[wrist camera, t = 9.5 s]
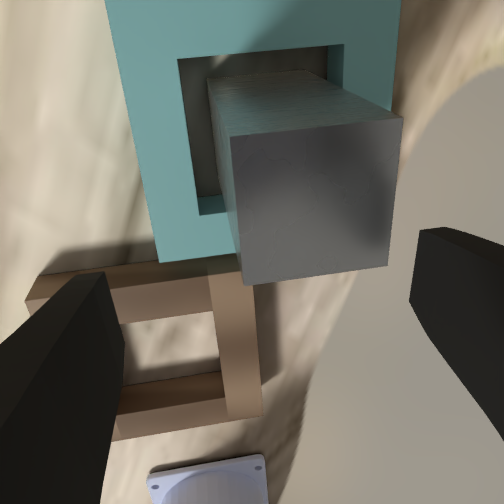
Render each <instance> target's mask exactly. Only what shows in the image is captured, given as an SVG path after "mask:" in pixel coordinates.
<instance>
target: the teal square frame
mask: <svg viewBox="0 0 504 504" xmlns="http://www.w3.org/2000/svg"><path fill="white" fill-rule="evenodd" d="M105 5H106V10H107V15H108V19H109V24H110V29H111V34H112V38H113V43H114V48H115V53H116V58H117V62H118V67H119V72H120V77H121V81H122V86H123V91H124V96H125V101H126V105H127V110H128V115H129V120H130V125H131V129H132V134H133V139H134V144H135V148H136V153H137V158H138V163H139V168H140V172H141V177H142V182H143V187H144V191H145V196H146V201H147V206H148V211H149V215H150V220H151V225H152V230H153V234H154V239H155V244H156V249H157V254H158V258H159V263H163V262H171V261H178V260H185V259H193V258H200V257H208V256H215V255H223V254H230V253H236V250H235V246H234V242H233V238H232V234H231V229H230V225H229V221H228V217H227V212H226V208H225V204H224V200H223V195H214V196H205V197H197V191H196V184H195V177H194V170H193V163H192V156H191V149H190V142H189V135H188V128H187V121H186V114H185V107H184V100H183V93H182V86H181V79H180V72H179V65H178V59H181V58H192V57H203V56H214V55H226V54H237V53H248V52H259V51H270V50H281V49H292V48H304V47H315V46H326V45H328V53H327V81H329V82H331V83H333V84H335V85H337V86H339V87H341V88H343V89H345V90H347V91H349V92H351V93H354V94H356V95H358V96H360V97H362V98H364V99H366V100H368V101H370V102H372V103H374V104H376V105H378V106H380V107H382V108H385V109H387V110H389V111H391V105H392V94H393V84H394V73H395V63H396V52H397V41H398V31H399V20H400V10H401V0H105Z"/></svg>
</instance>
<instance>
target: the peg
mask: <svg viewBox="0 0 504 504" xmlns="http://www.w3.org/2000/svg"><path fill="white" fill-rule="evenodd" d="M206 80H207V88H208V97H209V106H210V114H211V123H212V131H213V140H214V149H215V157H216V166H217V174H218V178H219V183H220V187H221V191H222V195H223V200H224V204H225V208H226V212H227V217H228V221H229V225H230V229H231V234H232V238H233V242H234V246H235V250H236V255H237V259H238V263H239V267H240V272H241V276H242V280H243V284H244V286H250V285H257V284H264V283H271V282H278V281H285V280H292V279H299V278H306V277H313V276H320V275H327V274H334V273H341V272H348V271H355V270H361V269H368V268H375V267H382V266H387V265H388V256H389V247H390V238H391V229H392V219H393V210H394V201H395V191H396V182H397V173H398V163H399V154H400V145H401V135H402V126H403V117H401V116H399V115H397V114H395V113H393V112H391V111H389V110H387V109H385V108H382V107H380V106H378V105H376V104H374V103H372V102H370V101H368V100H366V99H364V98H362V97H360V96H358V95H356V94H354V93H351V92H349V91H347V90H345V89H343V88H341V87H339V86H337V85H335V84H333V83H331V82H329V81H327V80H325V79H323V78H321V77H318V76H316V75H314V74H312V73H310V72H308V71H306V70H304V69H302V70H292V71H282V72H271V73H261V74H251V75H240V76H230V77H220V78H209V79H206Z"/></svg>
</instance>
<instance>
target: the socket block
mask: <svg viewBox="0 0 504 504" xmlns="http://www.w3.org/2000/svg"><path fill="white" fill-rule="evenodd" d="M101 271H105V274H106V278H107V281H108V285H109V289H110V292H111V296H112V299H113V303H114V306H115V310H116V313H117V317H118V321H119V324H126V323H133V322H140V321H146V320H153V319H160V318H167V317H174V316H180V315H187V314H194V313H201V312H208V311H213V314H214V321H215V328H216V335H217V342H218V349H219V356H220V363H221V370H222V371H218V372H211V373H205V374H199V375H193V376H186V377H180V378H174V379H168V380H162V381H155V382H149V383H143V384H137V385H130V386H124V387H122V388H121V394H120V399H119V404H118V410H117V415H116V420H115V425H114V430H113V435H112V440H111V442H113V441H119V440H125V439H131V438H136V437H142V436H148V435H154V434H160V433H166V432H171V431H177V430H183V429H189V428H195V427H200V426H206V425H212V424H218V423H224V422H230V421H235V420H241V419H247V418H253V417H259V416H263V404H262V392H261V380H260V367H259V355H258V343H257V330H256V318H255V306H254V293H253V285H250V286H244V284H243V280H242V276H241V272H240V267H239V263H238V259H237V255H236V253H230V254H223V255H215V256H208V257H200V258H193V259H185V260H178V261H171V262H163V263H159V260H156V261H148V262H141V263H133V264H126V265H118V266H111V267H103V268H96V269H88V270H81V271H73V272H66V273H58V274H51V275H43V276H37V278H36V280H35V282H34V284H33V286H32V288H31V290H30V292H29V293H28V295H27V297H26V299H25V304H26V306H27V308H28V311H29V313H30V316H32V315H33V314H34V313H35V312H36V311H37V310H38V309H39V308H40V307H41V306H42V305H44V304H45V303H46V302H47V301H48V300H49V299H50V298H51V297H52V296H53V295H54V294H55V293H56V292H57V291H58V290H59V289H60V288H61V287H62V286H63V285H65V284H66V283H67V282H68V281H69V280H70V279H71V278H73V277H74V276H75V275H78V274H86V273H93V272H101Z"/></svg>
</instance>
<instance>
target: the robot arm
mask: <svg viewBox="0 0 504 504" xmlns="http://www.w3.org/2000/svg"><path fill="white" fill-rule="evenodd" d="M409 302H410V304H411V306H412V308H413V310H414V312H415V314H416V316H417V318H418V320H419V321H420V323H421V325H422V327H423V328H424V330H425V332H426V334H427V336H428V337H429V338H430V340H431V341H432V343H433V344H434V345H435V347H436V348H437V349H438V351H439V352H440V354H441V355H442V356H443V358H444V359H445V360H446V362H447V363H448V365H449V366H450V367H451V369H452V370H453V371H454V373H455V374H456V375H457V376H458V378H459V379H460V380H461V382H462V383H463V385H464V386H465V387H466V388H467V390H468V391H469V393H470V394H471V395H472V397H473V398H474V399H475V401H476V402H477V403H478V404H479V406H480V407H481V409H482V410H483V411H484V412H485V414H486V415H487V417H488V418H489V420H490V421H491V423H492V424H493V425H494V427H495V428H496V430H497V431H498V433H499V434H500V436H501V437H502V439H503V441H504V246H503V245H500V244H497V243H495V242H492V241H489V240H486V239H483V238H480V237H478V236H475V235H472V234H469V233H466V232H462V231H459V230H455V229H452V228H447V227H440V228H432V229H424V230H420V232H419V238H418V245H417V252H416V258H415V265H414V271H413V278H412V285H411V291H410V298H409ZM124 348H125V342H124V338H123V335H122V331H121V328H120V324H119V321H118V317H117V313H116V310H115V306H114V303H113V299H112V296H111V292H110V289H109V285H108V281H107V278H106V274H105V271H101V272H93V273H86V274H78V275H75V276H74V277H73V278H71V279H70V280H69V281H68V282H67V283H66V284H65V285H63V286H62V287H61V288H60V289H59V290H58V291H57V292H56V293H55V294H54V295H53V296H52V297H51V298H50V299H49V300H48V301H47V302H46V303H45V304H44V305H42V306H41V307H40V308H39V309H38V310H37V311H36V312H35V313H34V314H33V315H32V316H31V317H30V318H29V319H28V320H27V321H25V322H24V323H23V324H22V325H21V326H20V327H19V328H18V329H17V330H16V331H15V332H14V333H13V334H11V335H10V336H9V337H8V338H7V339H6V340H4V341H3V342H2V343H1V344H0V504H100V499H101V493H102V486H103V481H104V475H105V470H106V465H107V460H108V455H109V450H110V445H111V440H112V435H113V430H114V425H115V420H116V415H117V410H118V404H119V399H120V394H121V388H122V382H123V368H124ZM146 484H147V487H148V490H149V493H150V496H151V499H152V502H153V504H269V503H268V492H267V480H266V468H265V459H264V456H263V455H260V454H256V455H250V456H245V457H239V458H234V459H228V460H223V461H217V462H211V463H206V464H200V465H195V466H189V467H184V468H178V469H173V470H167V471H161V472H156V473H151V474H149V475H148V476H147V480H146Z"/></svg>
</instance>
